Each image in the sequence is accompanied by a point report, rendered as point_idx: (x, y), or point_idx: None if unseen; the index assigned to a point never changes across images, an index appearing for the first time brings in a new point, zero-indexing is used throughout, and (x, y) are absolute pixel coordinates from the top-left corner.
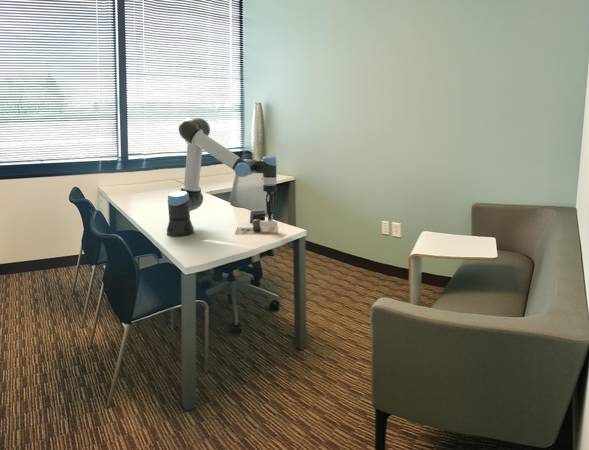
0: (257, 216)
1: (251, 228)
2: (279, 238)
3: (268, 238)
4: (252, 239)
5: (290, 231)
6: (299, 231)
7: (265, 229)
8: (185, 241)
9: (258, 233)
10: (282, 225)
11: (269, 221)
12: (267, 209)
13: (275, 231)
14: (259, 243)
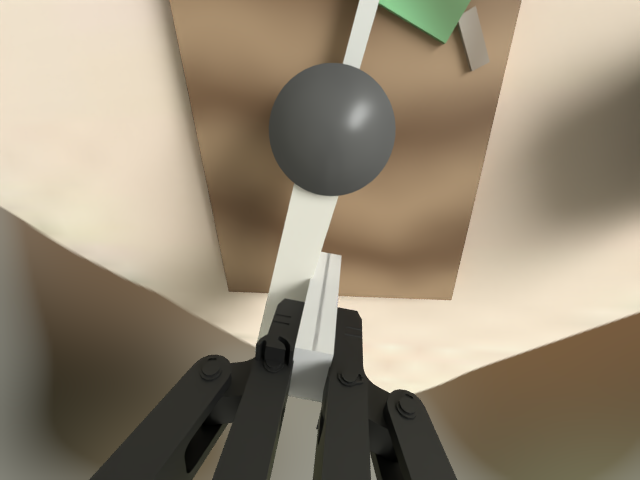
0: None
1: (348, 43)
2: (180, 288)
3: (163, 220)
4: (95, 82)
5: None
6: None
7: (381, 202)
8: None
9: (228, 138)
10: (559, 323)
11: (279, 295)
12: (132, 447)
13: None
14: (7, 155)
